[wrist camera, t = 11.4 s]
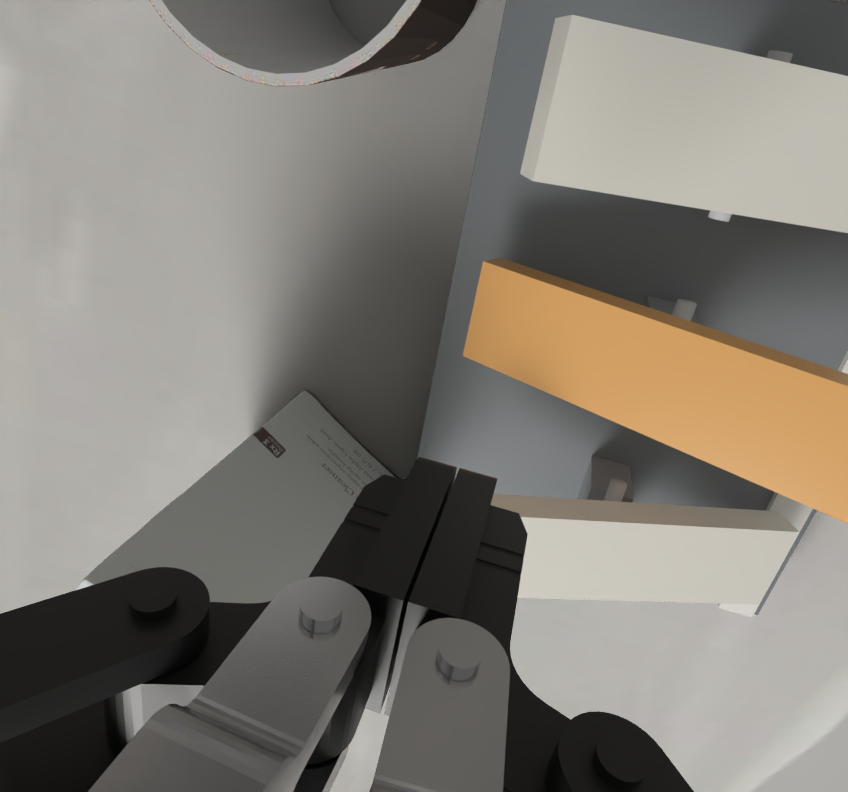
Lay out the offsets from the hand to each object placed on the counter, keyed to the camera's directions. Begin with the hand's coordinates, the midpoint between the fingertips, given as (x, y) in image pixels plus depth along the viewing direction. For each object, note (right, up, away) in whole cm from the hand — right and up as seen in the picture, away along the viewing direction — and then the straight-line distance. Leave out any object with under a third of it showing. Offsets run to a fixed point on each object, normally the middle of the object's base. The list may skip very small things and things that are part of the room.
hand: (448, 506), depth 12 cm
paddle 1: (+9, +9, +6) cm, 14 cm away
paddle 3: (+6, -3, +12) cm, 14 cm away
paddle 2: (+7, +3, +9) cm, 12 cm away
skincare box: (-6, -2, +21) cm, 22 cm away
